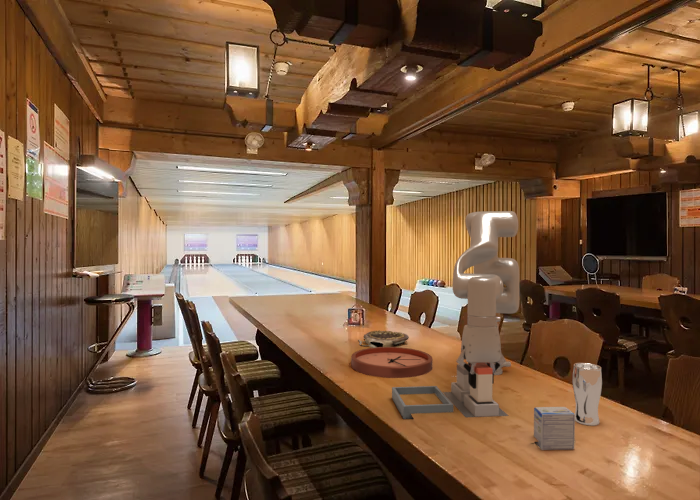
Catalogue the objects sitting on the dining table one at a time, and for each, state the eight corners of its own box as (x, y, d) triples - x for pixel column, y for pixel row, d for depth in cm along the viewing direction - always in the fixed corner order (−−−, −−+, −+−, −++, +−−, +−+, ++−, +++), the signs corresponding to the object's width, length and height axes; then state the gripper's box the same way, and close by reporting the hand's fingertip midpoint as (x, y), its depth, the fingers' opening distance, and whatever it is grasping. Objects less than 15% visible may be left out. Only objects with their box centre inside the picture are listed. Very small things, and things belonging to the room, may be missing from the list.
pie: (358, 337, 227) (358, 327, 227) (412, 338, 226) (412, 328, 226) (357, 350, 199) (357, 339, 199) (419, 352, 198) (419, 340, 198)
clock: (351, 346, 189) (424, 346, 189) (351, 356, 189) (424, 356, 190) (351, 367, 158) (440, 367, 158) (351, 378, 158) (440, 379, 158)
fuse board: (479, 395, 140) (479, 381, 140) (508, 421, 120) (508, 404, 120) (442, 396, 139) (442, 382, 139) (465, 422, 119) (465, 406, 119)
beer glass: (575, 414, 125) (576, 361, 125) (603, 420, 121) (604, 365, 121) (569, 421, 120) (570, 366, 120) (598, 428, 115) (599, 371, 115)
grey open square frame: (436, 397, 139) (436, 385, 139) (453, 417, 123) (453, 404, 123) (391, 398, 137) (391, 387, 137) (403, 419, 121) (403, 406, 121)
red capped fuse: (483, 393, 127) (483, 362, 127) (492, 401, 121) (492, 368, 121) (469, 394, 127) (470, 362, 127) (478, 402, 121) (478, 369, 121)
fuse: (469, 392, 138) (469, 364, 138) (476, 399, 132) (476, 369, 132) (456, 393, 138) (456, 364, 138) (463, 400, 132) (463, 369, 132)
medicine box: (565, 441, 108) (565, 406, 108) (575, 450, 104) (575, 413, 103) (533, 442, 108) (533, 406, 108) (541, 450, 103) (542, 413, 103)
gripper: (504, 318, 128) (503, 381, 129) (447, 319, 126) (447, 383, 127) (516, 323, 121) (516, 390, 121) (456, 324, 119) (456, 392, 120)
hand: (480, 386), depth 124 cm, fingers closed on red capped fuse, 4 cm apart
